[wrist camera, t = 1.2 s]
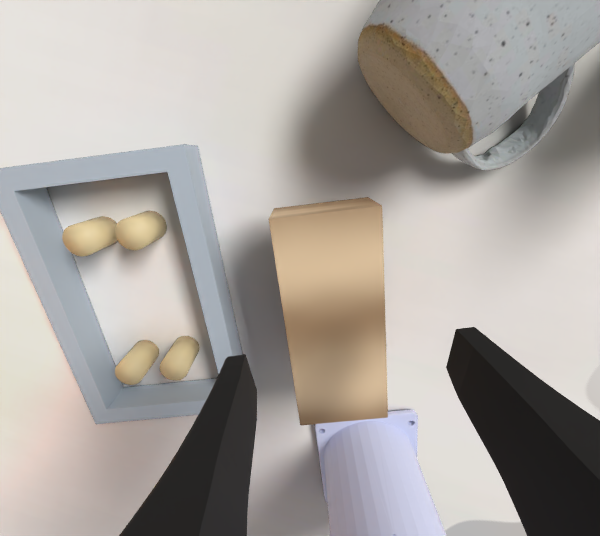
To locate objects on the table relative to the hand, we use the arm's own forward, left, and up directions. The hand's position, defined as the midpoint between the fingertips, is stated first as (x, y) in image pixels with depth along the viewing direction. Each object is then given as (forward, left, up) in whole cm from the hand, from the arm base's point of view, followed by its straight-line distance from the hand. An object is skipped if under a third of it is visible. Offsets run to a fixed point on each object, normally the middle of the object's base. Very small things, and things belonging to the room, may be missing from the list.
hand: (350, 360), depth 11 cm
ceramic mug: (+10, -8, -10) cm, 17 cm away
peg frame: (-1, +12, -10) cm, 16 cm away
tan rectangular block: (-2, 0, -8) cm, 8 cm away
